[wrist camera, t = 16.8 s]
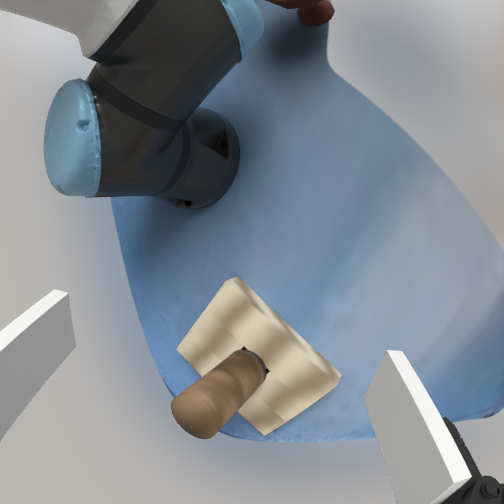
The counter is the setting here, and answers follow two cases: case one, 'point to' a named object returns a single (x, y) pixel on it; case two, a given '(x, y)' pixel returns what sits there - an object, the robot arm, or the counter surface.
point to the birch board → (266, 347)
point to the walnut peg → (219, 394)
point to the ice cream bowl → (309, 9)
